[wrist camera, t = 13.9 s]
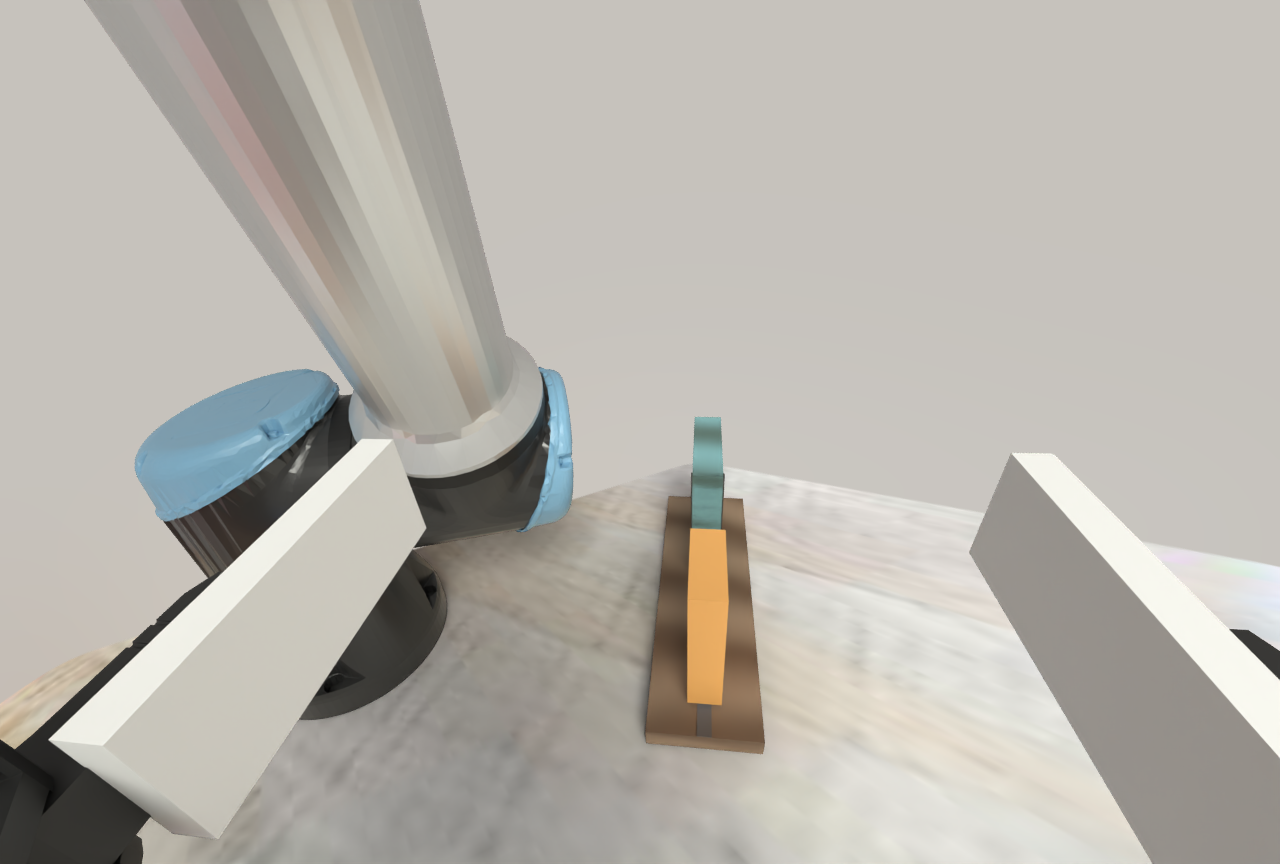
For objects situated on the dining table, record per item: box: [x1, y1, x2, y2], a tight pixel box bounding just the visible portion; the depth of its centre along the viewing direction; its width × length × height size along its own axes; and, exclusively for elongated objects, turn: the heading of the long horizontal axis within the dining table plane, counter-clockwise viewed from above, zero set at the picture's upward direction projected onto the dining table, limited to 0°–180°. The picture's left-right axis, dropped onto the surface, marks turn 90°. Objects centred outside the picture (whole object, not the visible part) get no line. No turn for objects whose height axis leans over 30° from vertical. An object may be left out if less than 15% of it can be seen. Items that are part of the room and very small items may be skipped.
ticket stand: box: [645, 417, 765, 754], centre depth 42 cm, size 25×8×13 cm, turn 174°
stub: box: [687, 528, 729, 705], centre depth 35 cm, size 6×2×11 cm, turn 173°
